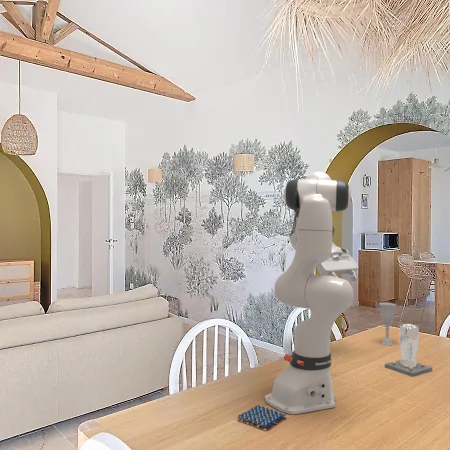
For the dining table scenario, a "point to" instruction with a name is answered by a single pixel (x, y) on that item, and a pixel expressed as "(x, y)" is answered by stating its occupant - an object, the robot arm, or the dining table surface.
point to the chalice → (387, 319)
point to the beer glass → (408, 344)
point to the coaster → (409, 371)
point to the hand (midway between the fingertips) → (347, 281)
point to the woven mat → (261, 417)
